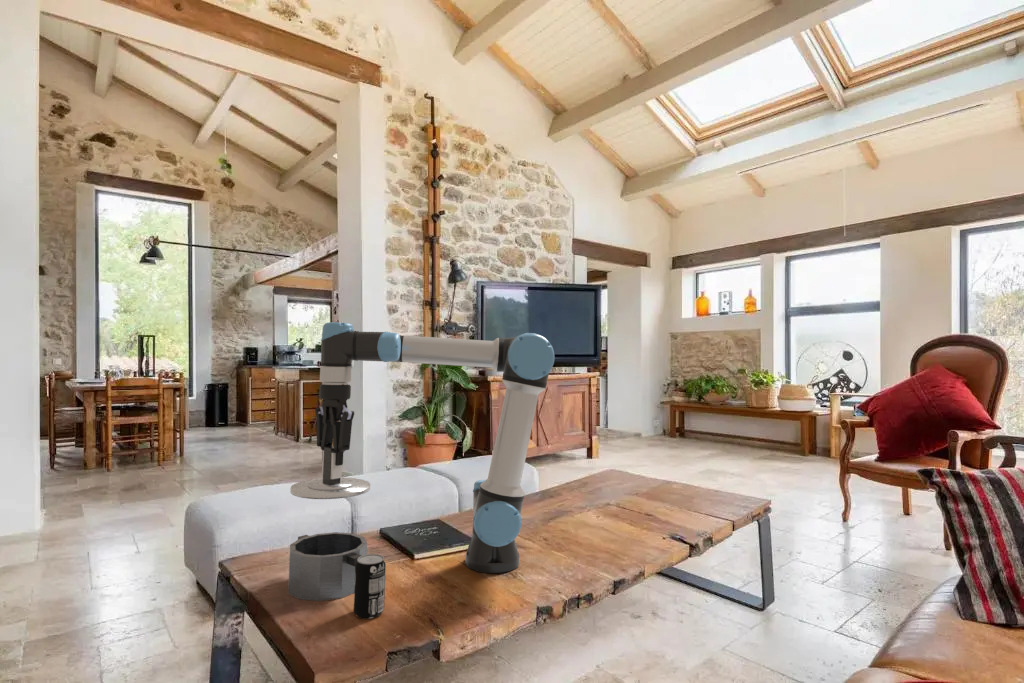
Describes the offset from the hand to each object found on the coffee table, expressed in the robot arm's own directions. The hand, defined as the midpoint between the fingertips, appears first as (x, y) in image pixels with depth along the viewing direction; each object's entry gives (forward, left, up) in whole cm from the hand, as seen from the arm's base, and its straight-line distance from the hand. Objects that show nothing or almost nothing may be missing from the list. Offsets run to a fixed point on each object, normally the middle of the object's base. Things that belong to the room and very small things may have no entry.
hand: (331, 476), depth 136 cm
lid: (0, 0, -3) cm, 3 cm away
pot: (0, 0, -27) cm, 27 cm away
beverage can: (-20, +3, -27) cm, 34 cm away
